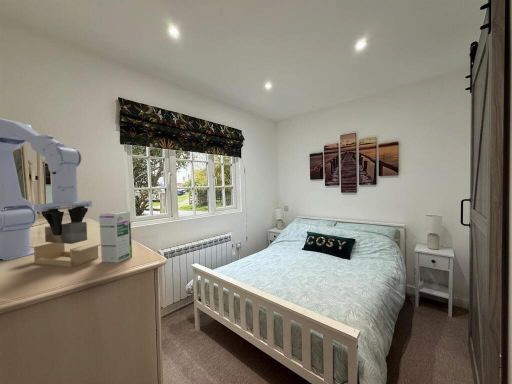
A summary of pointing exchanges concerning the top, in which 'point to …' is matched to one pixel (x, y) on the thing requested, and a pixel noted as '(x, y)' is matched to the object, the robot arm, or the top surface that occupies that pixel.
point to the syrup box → (115, 236)
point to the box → (68, 233)
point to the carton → (64, 254)
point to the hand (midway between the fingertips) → (66, 233)
